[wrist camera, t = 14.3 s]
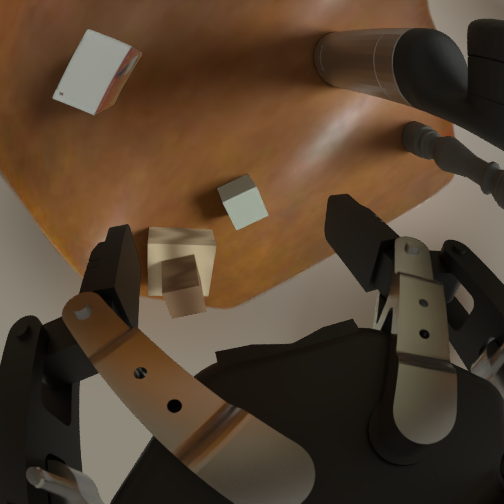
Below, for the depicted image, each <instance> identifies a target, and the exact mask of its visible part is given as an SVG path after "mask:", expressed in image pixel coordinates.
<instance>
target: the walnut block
mask: <svg viewBox="0 0 504 504" xmlns="http://www.w3.org/2000/svg"><path fill="white" fill-rule="evenodd" d="M162 295H163V297H164V300H165V302H166V305H167V307H168V310H169V312H170V315H171V317H172V318H177V317H182V316H187V315H192V314H197V313H201V312H206V307H205V301H204V296H203V290H202V285H201V279H200V275H199V271H198V267H197V263H196V259H195V255H194V254H192V255H188V256H183V257H178V258H174V259H169V260H164V261H162Z"/></svg>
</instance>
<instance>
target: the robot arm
mask: <svg viewBox="0 0 504 504" xmlns="http://www.w3.org/2000/svg"><path fill="white" fill-rule="evenodd" d="M467 49H468V56H469V57H468V67H467V64H466V62H465V59H464V57H463V54H462V53H461V51H460V49H459V47H458V46H457V45H456V43H455V42H454V41H453V40H452V39H451V38H450V37H449V36H447V35H446V34H444V33H442V32H440V31H437V30H434V29H427V28H382V29H363V30H351V31H340V32H333V33H329V34H327V35H325V36H324V37H322V38H321V39H320V40H319V42H318V43H317V45H316V48H315V51H314V63H315V66H316V69H317V71H318V73H319V75H320V76H321V77H322V79H323V80H325V81H326V82H327V83H328V84H330V85H332V86H334V87H338V88H342V89H347V90H351V91H355V92H360V93H364V94H368V95H372V96H376V97H380V98H383V99H387V100H390V101H394V102H397V103H401V104H404V105H407V106H411V107H414V108H417V109H419V110H422V111H425V112H428V113H430V114H432V115H434V116H437V117H440V118H442V119H444V120H447V121H449V122H451V123H454V124H456V125H458V126H460V127H462V128H464V129H466V130H468V131H470V132H471V133H473V134H475V135H477V136H479V137H480V138H482V139H484V140H485V141H487V142H489V143H491V144H492V145H494V146H496V147H498V148H499V149H501V150H503V151H504V21H503V20H496V19H478V20H475V21H473V22H471V23H470V24H469V26H468V33H467ZM324 231H325V237H326V240H327V242H328V243H329V244H330V246H331V247H332V248H333V249H334V251H335V252H336V253H337V254H338V256H339V257H340V258H341V260H342V261H343V262H344V263H345V265H346V266H347V267H348V269H349V270H350V271H351V273H352V274H353V275H354V277H355V278H356V279H357V281H358V282H359V283H360V285H361V286H362V287H363V288H364V290H365V291H366V292H369V291H373V290H376V289H378V290H379V293H378V296H377V302H376V310H375V317H374V324H373V329H370V328H358V327H357V325H356V323H355V322H354V320H353V319H350V320H347V321H344V322H340V323H336V324H333V325H330V326H326V327H323V328H321V329H319V330H317V331H315V332H313V333H312V334H310V335H308V336H306V337H304V338H302V339H300V340H298V341H297V342H294V343H291V344H268V345H267V344H262V345H261V344H260V345H257V344H256V345H248V346H243V347H238V348H233V349H228V350H222V351H217V352H215V353H216V358H217V363H215V364H212V365H210V366H209V367H207V368H205V369H203V370H202V371H200V372H199V373H198V374H196V375H195V376H194V377H193V376H192V375H190V374H189V373H188V372H187V371H186V370H184V369H183V368H182V367H181V366H180V365H179V364H177V363H176V362H175V361H174V360H173V359H172V358H170V357H169V356H168V355H167V354H166V353H164V351H162V350H161V349H160V348H159V347H158V346H157V345H156V344H155V343H154V342H153V341H151V340H150V339H149V338H148V337H147V336H146V335H145V334H144V333H143V332H142V331H141V330H140V329H138V312H139V293H140V278H141V267H140V261H139V257H138V253H137V250H136V247H135V243H134V240H133V236H132V233H131V229H130V227H129V225H128V224H126V225H121V226H116V227H111V228H109V231H108V234H107V237H106V240H105V242H100V243H98V245H97V246H96V247H95V248H94V249H93V251H92V252H91V255H90V258H89V262H88V265H87V270H86V271H85V274H84V278H83V281H82V285H81V288H80V292H79V294H78V295H76V296H74V297H73V298H71V299H70V300H69V301H68V302H67V303H66V305H65V306H64V308H63V311H62V317H60V318H58V319H55V320H53V321H51V322H48V323H46V324H44V325H42V323H41V322H40V320H39V319H38V318H37V317H35V316H31V315H30V316H25V317H23V318H21V319H19V320H18V321H17V322H16V323H15V324H14V325H13V326H12V327H11V329H10V331H9V334H8V337H7V340H6V345H5V348H4V352H3V356H2V360H1V364H0V504H104V503H103V501H102V500H101V498H100V496H99V493H98V489H97V487H96V485H95V483H94V482H93V480H92V479H91V478H90V477H88V476H87V475H86V474H84V473H82V462H81V450H80V433H79V432H80V431H79V386H80V381H81V380H83V379H86V378H88V377H90V376H93V375H95V374H98V373H100V375H101V376H102V377H103V379H104V380H105V381H106V382H107V384H108V385H109V386H110V387H111V389H112V390H113V391H114V392H115V394H116V395H117V396H118V397H119V398H120V400H121V401H122V402H123V403H124V404H125V405H126V406H127V408H128V409H129V410H130V411H131V412H132V413H133V414H134V415H135V416H136V418H137V419H138V420H139V421H140V422H141V423H142V424H143V425H144V426H145V427H146V428H147V429H148V430H149V431H150V432H151V433H152V434H153V437H152V438H151V440H150V441H149V443H148V444H147V446H146V448H145V449H144V451H143V452H142V454H141V456H140V457H139V459H138V460H137V462H136V463H135V465H134V467H133V468H132V470H131V471H130V473H129V474H128V476H127V477H126V479H125V480H124V482H123V484H122V485H121V487H120V488H119V490H118V491H117V493H116V495H115V496H114V498H113V499H112V501H111V503H110V504H504V284H503V283H502V282H501V281H500V280H499V279H498V278H497V277H496V276H495V274H493V272H492V271H491V270H490V269H489V268H488V267H487V266H486V265H485V264H484V263H483V262H482V261H481V260H480V259H479V258H478V257H477V256H476V255H475V254H474V253H473V252H472V251H471V250H470V249H469V248H468V247H467V246H466V245H464V244H463V243H461V242H458V241H455V240H446V241H445V242H444V244H443V247H442V249H441V251H430V250H429V249H428V247H427V246H426V245H425V244H424V243H423V242H421V241H420V240H418V239H415V238H412V237H406V236H404V237H400V236H399V235H397V234H396V233H395V232H394V231H393V230H392V229H391V228H390V227H389V226H388V225H387V224H386V223H385V222H382V220H381V219H380V218H379V217H377V215H376V214H375V213H373V212H372V211H371V210H370V209H368V208H366V207H364V206H362V205H360V204H359V203H358V202H357V201H355V200H354V199H353V198H352V197H351V196H350V195H348V194H339V195H331V196H330V197H329V198H328V203H327V211H326V220H325V228H324ZM460 284H462V285H463V286H464V287H465V288H466V290H467V291H468V292H469V293H470V294H471V296H472V297H473V300H474V308H473V310H472V312H471V313H470V315H469V314H468V312H467V311H466V310H465V309H464V307H463V306H462V305H461V304H460V302H459V301H458V300H457V298H456V297H455V294H456V292H457V290H458V288H459V286H460ZM449 341H450V343H451V344H452V346H453V347H454V349H455V350H456V352H457V353H458V355H459V356H460V358H461V359H462V361H463V363H464V364H465V366H466V367H467V369H468V371H467V370H465V369H463V368H460V367H458V366H456V365H454V364H452V363H451V362H450V347H449Z"/></svg>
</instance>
